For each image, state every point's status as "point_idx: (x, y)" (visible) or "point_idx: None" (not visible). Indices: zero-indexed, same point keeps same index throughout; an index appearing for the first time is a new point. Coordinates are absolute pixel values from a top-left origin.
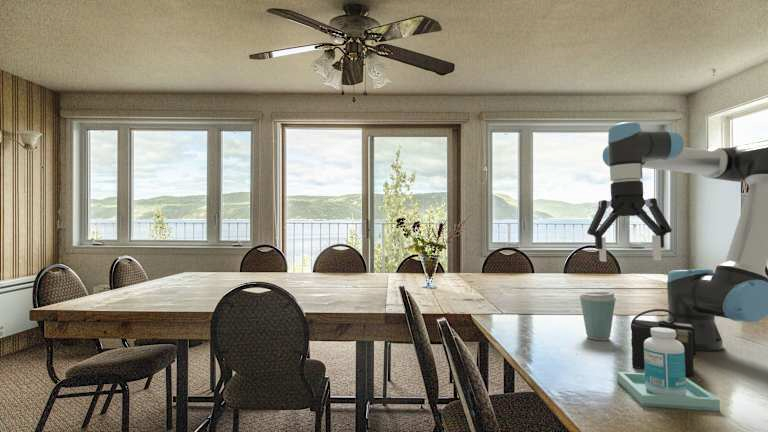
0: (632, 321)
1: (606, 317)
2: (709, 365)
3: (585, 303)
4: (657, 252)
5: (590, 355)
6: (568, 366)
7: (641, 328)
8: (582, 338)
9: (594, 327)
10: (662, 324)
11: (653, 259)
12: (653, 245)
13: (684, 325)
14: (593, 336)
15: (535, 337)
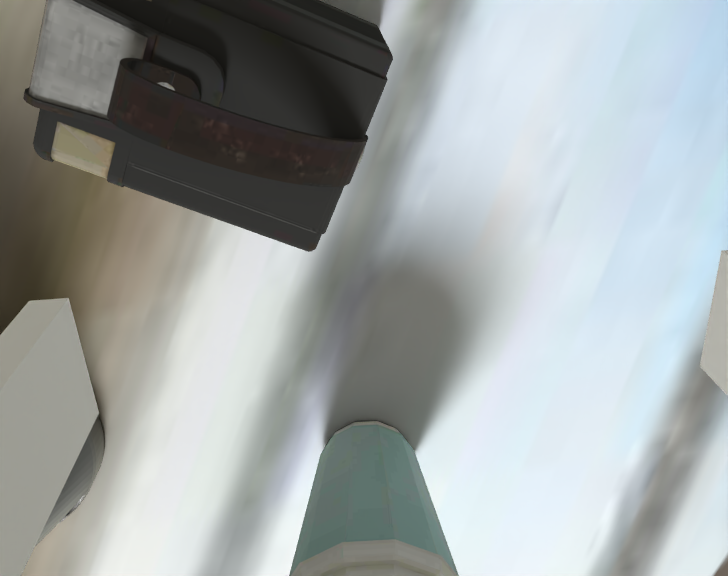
0: (360, 140)
1: (349, 486)
2: (16, 130)
3: (450, 560)
4: (31, 363)
5: (500, 196)
6: (674, 4)
7: (346, 32)
8: (436, 444)
9: (400, 457)
10: (211, 57)
11: (95, 404)
12: (21, 525)
13: (82, 48)
14: (399, 435)
15: (641, 428)
